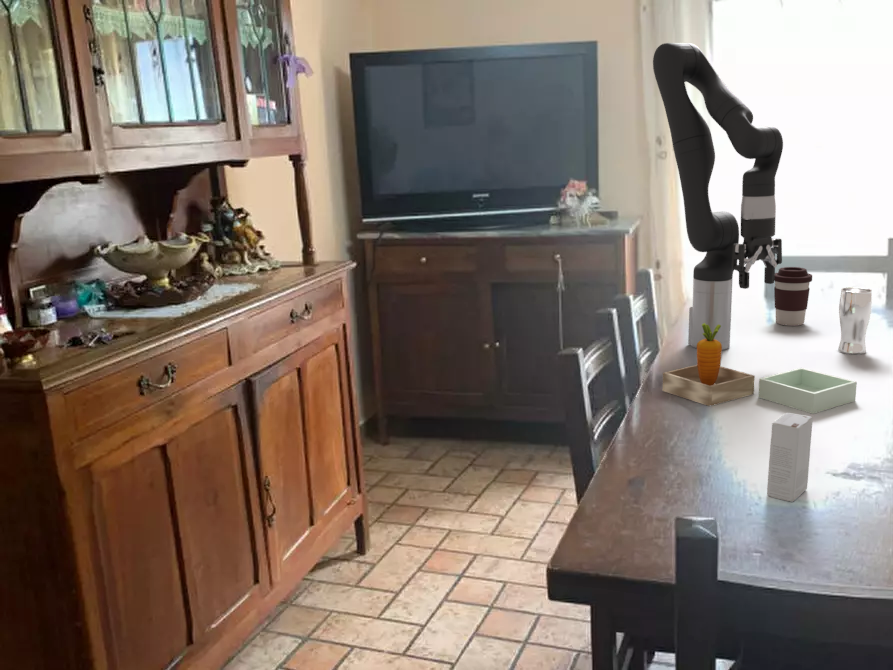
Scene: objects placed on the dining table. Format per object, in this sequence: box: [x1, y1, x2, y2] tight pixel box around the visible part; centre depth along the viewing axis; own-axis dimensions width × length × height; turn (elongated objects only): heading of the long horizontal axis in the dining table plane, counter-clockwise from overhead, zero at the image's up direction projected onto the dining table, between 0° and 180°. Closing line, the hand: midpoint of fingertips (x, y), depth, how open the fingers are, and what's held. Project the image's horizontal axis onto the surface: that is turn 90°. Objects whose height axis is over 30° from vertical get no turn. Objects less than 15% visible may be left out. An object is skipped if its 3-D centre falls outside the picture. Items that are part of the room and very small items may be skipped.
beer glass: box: [837, 286, 873, 355], centre depth 215 cm, size 7×7×15 cm
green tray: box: [757, 367, 858, 415], centre depth 182 cm, size 13×13×4 cm
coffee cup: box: [773, 266, 813, 327], centre depth 245 cm, size 10×10×15 cm
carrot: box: [696, 323, 723, 386], centre depth 188 cm, size 5×5×15 cm
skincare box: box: [766, 412, 813, 503], centre depth 138 cm, size 6×4×12 cm
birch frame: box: [662, 364, 756, 407], centre depth 189 cm, size 13×13×4 cm
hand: (756, 285), depth 210 cm, fingers open, 8 cm apart
